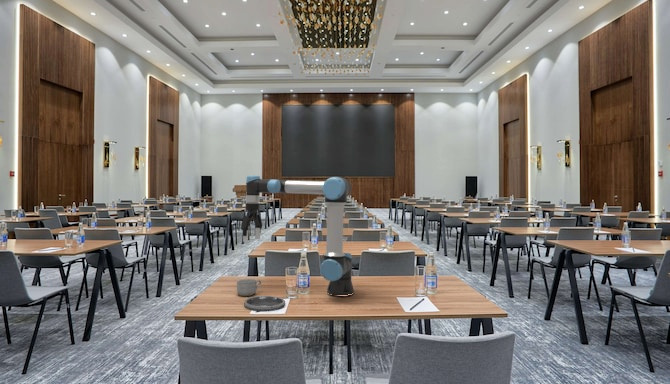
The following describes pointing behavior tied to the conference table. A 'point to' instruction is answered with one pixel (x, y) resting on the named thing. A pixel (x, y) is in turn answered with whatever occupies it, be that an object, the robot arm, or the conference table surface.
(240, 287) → the teacup
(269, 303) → the dark grey plate
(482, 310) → the conference table surface
